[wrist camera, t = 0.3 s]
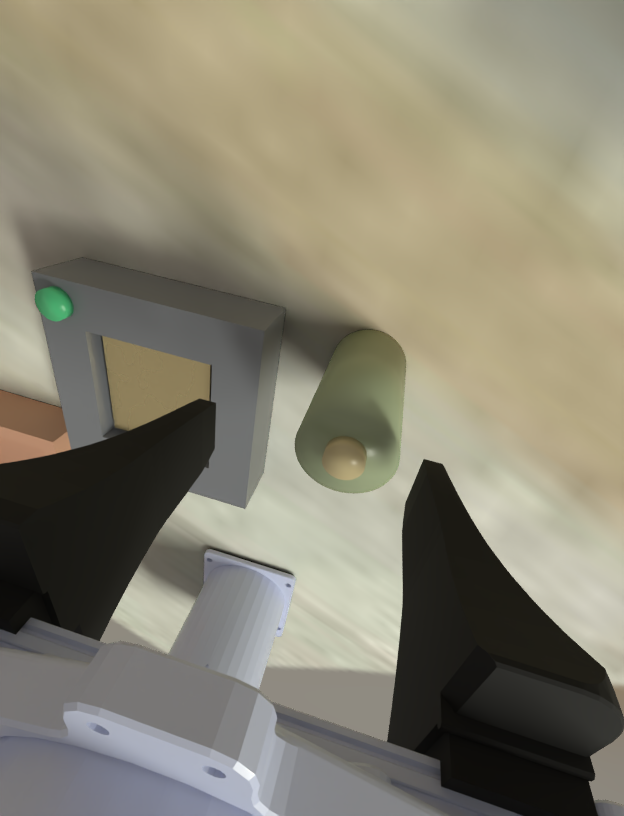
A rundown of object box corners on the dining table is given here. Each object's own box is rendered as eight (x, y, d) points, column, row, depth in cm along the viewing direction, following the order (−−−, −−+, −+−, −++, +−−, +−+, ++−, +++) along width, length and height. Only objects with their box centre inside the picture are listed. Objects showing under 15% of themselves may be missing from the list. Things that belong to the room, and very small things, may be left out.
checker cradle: (263, 472, 28) (241, 515, 24) (107, 426, 29) (65, 461, 25) (286, 308, 21) (260, 336, 18) (82, 257, 22) (20, 273, 19)
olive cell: (394, 404, 22) (382, 515, 15) (326, 386, 23) (284, 486, 16) (416, 340, 20) (413, 435, 13) (340, 321, 21) (298, 404, 14)
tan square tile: (212, 448, 24) (207, 454, 24) (120, 421, 25) (114, 427, 24) (215, 359, 21) (210, 364, 20) (109, 331, 22) (102, 335, 21)
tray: (109, 531, 36) (83, 561, 33) (-17, 490, 37) (-52, 516, 34) (88, 415, 29) (53, 442, 26) (-67, 370, 30) (-116, 391, 27)
